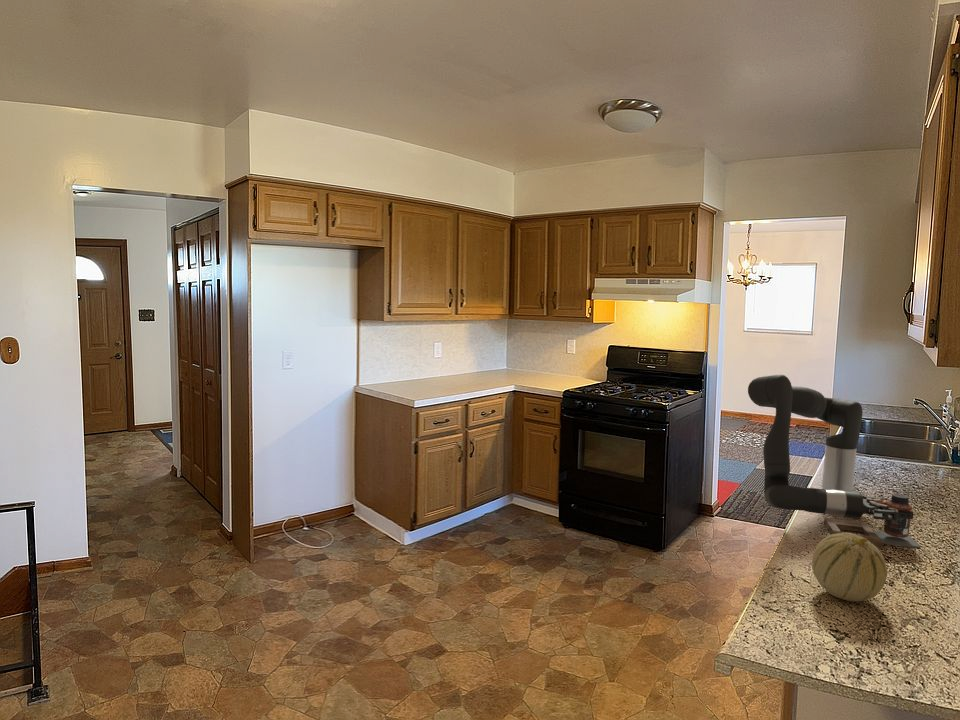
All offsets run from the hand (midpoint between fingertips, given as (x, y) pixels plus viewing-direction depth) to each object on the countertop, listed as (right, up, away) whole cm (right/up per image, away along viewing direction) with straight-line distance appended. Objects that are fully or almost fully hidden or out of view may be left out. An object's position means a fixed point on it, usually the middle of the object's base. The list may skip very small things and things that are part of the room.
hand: (908, 511), depth 176 cm
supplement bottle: (-3, -7, +1) cm, 8 cm away
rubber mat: (-2, -8, +2) cm, 9 cm away
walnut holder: (-13, -8, +5) cm, 16 cm away
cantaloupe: (-37, -12, -33) cm, 51 cm away
